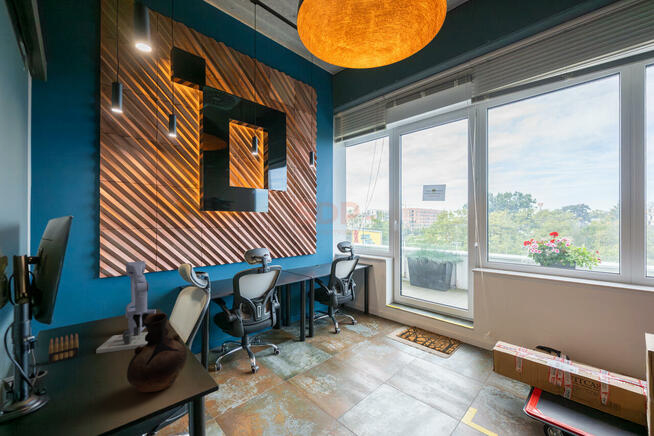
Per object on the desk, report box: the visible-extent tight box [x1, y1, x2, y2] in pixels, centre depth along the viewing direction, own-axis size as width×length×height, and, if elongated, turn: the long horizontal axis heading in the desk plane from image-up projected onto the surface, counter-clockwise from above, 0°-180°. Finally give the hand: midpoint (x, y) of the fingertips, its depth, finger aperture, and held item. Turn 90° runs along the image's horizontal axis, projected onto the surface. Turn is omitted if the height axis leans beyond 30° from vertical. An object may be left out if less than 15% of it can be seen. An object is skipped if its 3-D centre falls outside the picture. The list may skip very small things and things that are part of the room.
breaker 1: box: [124, 334, 132, 344], centre depth 143 cm, size 3×2×4 cm
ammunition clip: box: [47, 333, 79, 365], centre depth 130 cm, size 11×2×12 cm, turn 135°
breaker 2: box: [134, 326, 140, 335], centre depth 154 cm, size 3×2×4 cm
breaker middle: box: [122, 329, 130, 340], centre depth 148 cm, size 3×2×4 cm
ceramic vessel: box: [126, 312, 188, 393], centre depth 108 cm, size 21×18×30 cm
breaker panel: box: [95, 331, 148, 354], centre depth 148 cm, size 18×22×2 cm
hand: (140, 327), depth 150 cm, fingers closed
